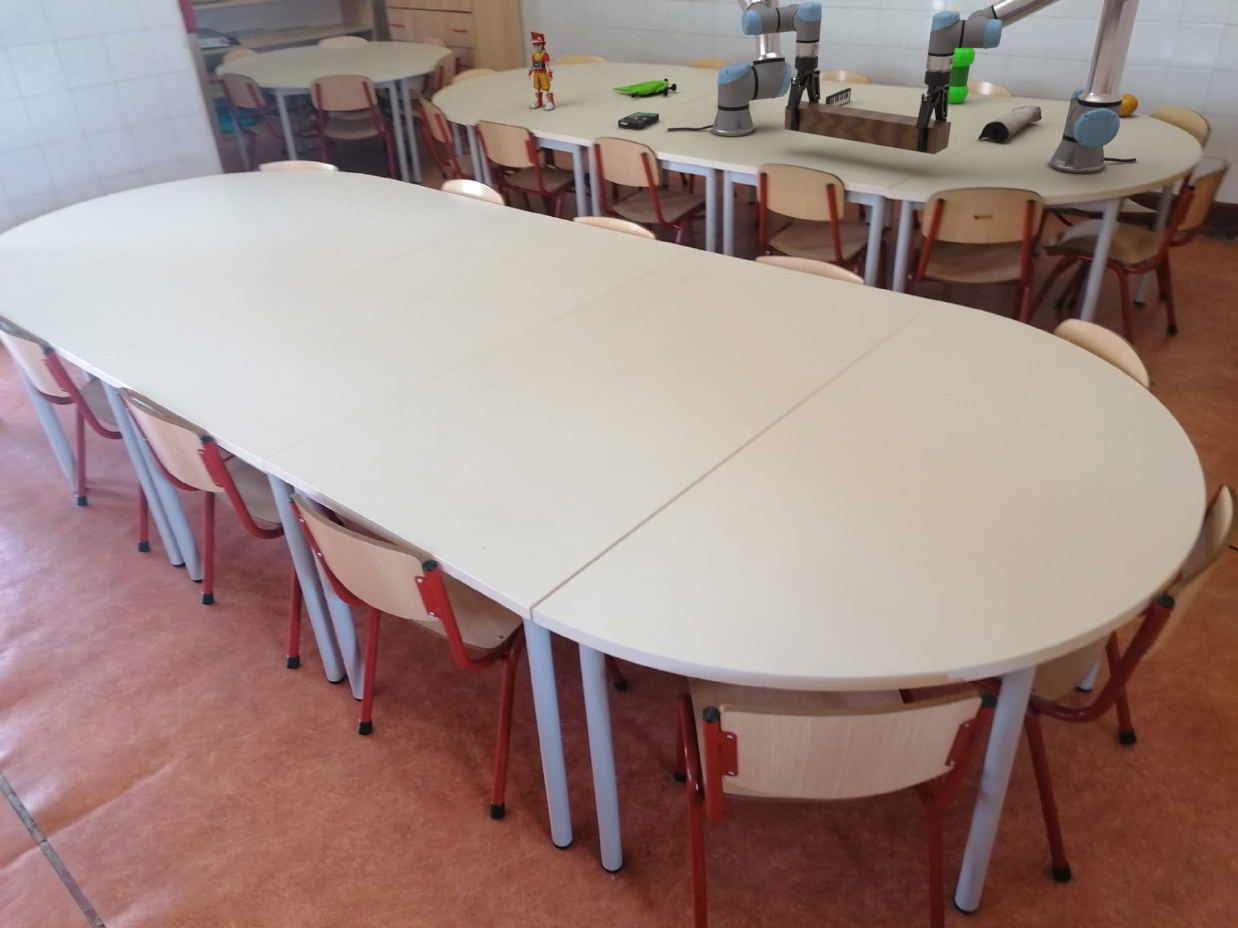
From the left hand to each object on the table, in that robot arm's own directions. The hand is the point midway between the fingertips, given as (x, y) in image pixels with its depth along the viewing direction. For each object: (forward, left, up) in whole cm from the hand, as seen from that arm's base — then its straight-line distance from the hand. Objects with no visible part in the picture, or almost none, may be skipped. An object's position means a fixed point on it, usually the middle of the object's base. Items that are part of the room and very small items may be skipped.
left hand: (802, 126), depth 306 cm
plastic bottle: (+32, +84, -8) cm, 90 cm away
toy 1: (-126, +24, -8) cm, 128 cm away
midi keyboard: (-9, +64, -8) cm, 66 cm away
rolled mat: (+60, +47, -8) cm, 77 cm away
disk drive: (-72, +13, -8) cm, 74 cm away
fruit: (+92, +82, -8) cm, 124 cm away
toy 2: (-98, +62, -8) cm, 116 cm away
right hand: (+45, -10, 0) cm, 46 cm away
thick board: (+23, -5, -1) cm, 23 cm away
